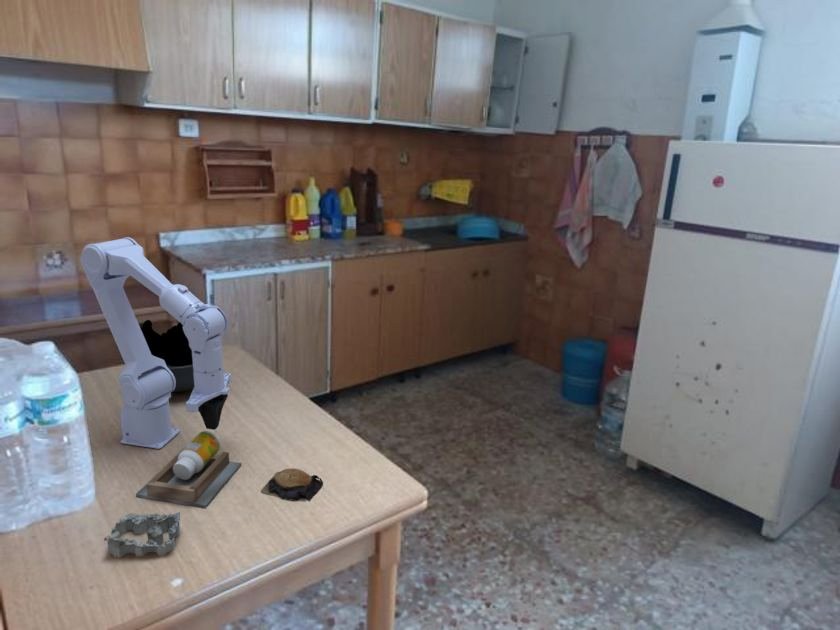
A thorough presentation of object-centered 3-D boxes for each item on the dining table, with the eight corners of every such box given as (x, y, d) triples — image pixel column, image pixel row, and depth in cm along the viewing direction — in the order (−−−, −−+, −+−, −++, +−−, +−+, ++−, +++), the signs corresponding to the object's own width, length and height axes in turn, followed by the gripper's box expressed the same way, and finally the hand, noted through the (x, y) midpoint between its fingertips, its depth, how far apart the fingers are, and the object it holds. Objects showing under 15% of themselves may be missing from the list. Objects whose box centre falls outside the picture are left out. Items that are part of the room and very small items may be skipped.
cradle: (136, 496, 109) (134, 482, 108) (179, 456, 122) (177, 443, 121) (205, 508, 107) (204, 493, 106) (241, 465, 120) (240, 452, 119)
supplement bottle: (223, 453, 121) (196, 485, 113) (200, 449, 122) (172, 480, 114) (219, 432, 119) (191, 463, 110) (196, 428, 120) (166, 458, 111)
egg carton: (103, 560, 93) (99, 539, 92) (121, 529, 101) (119, 509, 99) (171, 559, 94) (169, 538, 93) (185, 528, 101) (183, 508, 100)
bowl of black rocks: (236, 379, 159) (233, 314, 153) (189, 411, 140) (183, 339, 134) (173, 367, 163) (168, 304, 158) (120, 397, 145) (112, 326, 139)
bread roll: (257, 496, 112) (257, 480, 111) (278, 472, 120) (278, 457, 118) (308, 507, 109) (308, 491, 108) (326, 482, 117) (326, 466, 116)
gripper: (208, 384, 109) (212, 448, 113) (243, 356, 122) (245, 413, 127) (173, 380, 110) (179, 443, 114) (212, 352, 123) (215, 409, 128)
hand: (212, 427), depth 120 cm, fingers closed
